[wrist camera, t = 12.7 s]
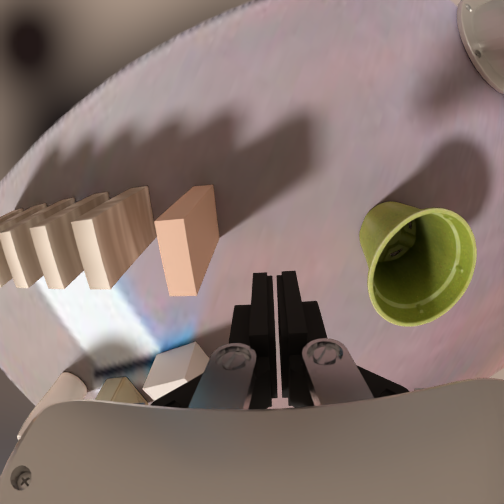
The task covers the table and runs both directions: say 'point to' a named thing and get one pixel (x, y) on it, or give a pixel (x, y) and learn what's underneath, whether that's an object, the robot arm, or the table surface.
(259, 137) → the table surface
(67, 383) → the drinking glass
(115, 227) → the domino
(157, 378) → the white cube
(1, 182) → the table surface
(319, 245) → the table surface
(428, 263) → the plant pot
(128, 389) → the skincare box
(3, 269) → the domino
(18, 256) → the domino
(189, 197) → the domino
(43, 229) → the domino
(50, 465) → the robot arm
